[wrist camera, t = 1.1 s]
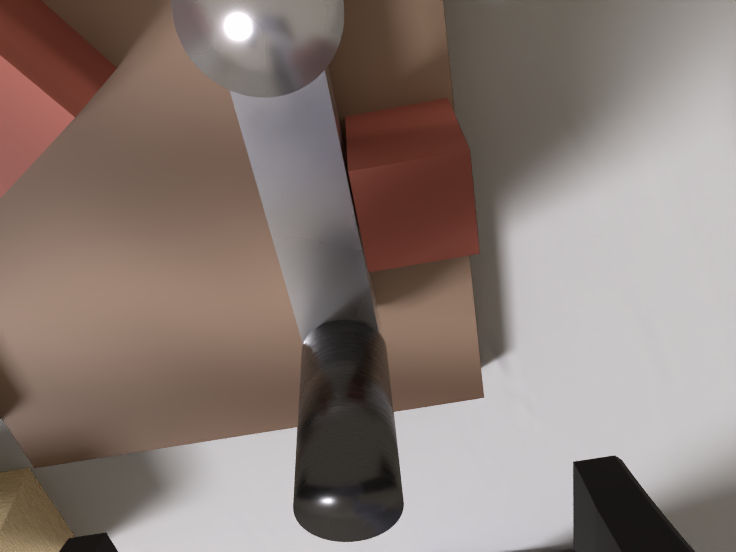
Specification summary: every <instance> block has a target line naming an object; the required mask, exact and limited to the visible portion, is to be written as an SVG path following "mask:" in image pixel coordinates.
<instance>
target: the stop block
mask: <svg viewBox="0 0 736 552" xmlns="http://www.w3.org/2000/svg"><path fill="white" fill-rule="evenodd" d="M74 537H75V536H74V535H73V533H72V532H71V530H70V529H69V527H68V526H67V524H66V523H65V521H64V520H63V518H62V517H61V515H60V514H59V512H58V511H57V509H56V508H55V506H54V504H53V503H52V501H51V500H50V498H49V497H48V495H47V494H46V492H45V491H44V489H43V488H42V486H41V485H40V483H39V482H38V480H37V479H36V477H35V476H34V474H33V473H32V471H31V470H30V468H24V469H18V470H11V471H5V472H0V552H59V551H60V549H61V548H62V547H63V545H64V544H65V542H66V541H67V540H68V538H74Z"/></svg>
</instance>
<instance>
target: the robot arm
mask: <svg viewBox="0 0 736 552" xmlns="http://www.w3.org/2000/svg"><path fill="white" fill-rule="evenodd" d="M573 497H574V548H575V551H576V552H695V551H694V550H693V549H692V548H691V547H690V545H689V544H688V543H687V542H686V541H685V540H684V538H683V537H682V536H681V535H680V534H679V532H678V531H677V530H676V529H675V528H674V526H673V525H672V524H671V523H670V522H669V520H668V519H667V518H666V517H665V516H664V514H663V513H662V512H661V511H660V509H659V508H658V507H657V506H656V504H655V503H654V502H653V501H652V500H651V498H650V497H649V496H648V494H647V493H646V492H645V491H644V489H643V488H642V487H641V485H640V484H639V483H638V481H637V480H636V479H635V477H634V476H633V475H632V473H631V472H630V471H629V469H628V468H627V467H626V465H625V464H624V462H623V461H622V460H621V459H619V458H618V457H616V456H609V457H602V458H596V459H589V460H583V461H576V462H573ZM59 552H118V551H117V549H116V548H115V546H114V544H113V543H112V541H111V540H110V538H109V536H108V535H107V533H101V534H94V535H87V536H81V537H74V538H68V540H67V541H66V542H65V544H64V545H63V547H62V548H61V549H60V551H59Z"/></svg>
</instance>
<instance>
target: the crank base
mask: <svg viewBox="0 0 736 552" xmlns="http://www.w3.org/2000/svg"><path fill="white" fill-rule="evenodd" d="M343 2H344V25H343V33H342V36H341V40H340V44H339V46H338V49H337V51H336V53H335V55H334V57H333V59H332V60H331V62H330V64H329V65H328V67H329V71H330V76H331V81H332V86H333V91H334V96H335V101H336V106H337V111H338V116H339V121H340V126H341V131H342V136H343V141H344V146H345V151H346V156H347V161H348V173H349V178H350V183H351V188H352V193H353V198H354V203H355V208H356V213H357V218H358V223H359V228H360V232H361V237H362V242H363V247H364V252H365V257H366V262H367V267H368V272H370V274H371V279H372V284H373V289H374V294H375V299H376V304H377V309H378V314H379V319H380V324H381V334H382V337H383V339H384V341H385V343H386V347H387V356H388V365H389V374H390V383H391V393H392V402H393V411H394V412H395V411H402V410H408V409H415V408H421V407H427V406H434V405H440V404H447V403H453V402H459V401H466V400H472V399H478V398H484V393H483V383H482V374H481V364H480V354H479V345H478V335H477V325H476V316H475V306H474V296H473V287H472V277H471V267H470V257H469V255H475V254H480V252H479V241H478V230H477V219H476V209H475V198H474V187H473V177H472V166H471V155H470V149H469V147H468V144H467V142H466V140H465V137H464V135H463V133H462V130H461V128H460V125H459V123H458V121H457V118H456V116H455V112H454V103H453V93H452V83H451V74H450V64H449V54H448V44H447V35H446V25H445V15H444V6H443V0H343ZM302 346H303V343H302V340H301V337H300V333H299V330H298V326H297V323H296V319H295V316H294V312H293V309H292V305H291V302H290V298H289V295H288V291H287V288H286V285H285V281H284V278H283V274H282V271H281V267H280V264H279V260H278V257H277V253H276V250H275V246H274V243H273V239H272V236H271V232H270V229H269V226H268V222H267V219H266V215H265V212H264V208H263V205H262V201H261V198H260V194H259V191H258V187H257V184H256V180H255V177H254V174H253V170H252V167H251V163H250V160H249V156H248V153H247V149H246V146H245V142H244V139H243V135H242V132H241V128H240V125H239V122H238V118H237V115H236V111H235V108H234V104H233V101H232V97H231V94H230V90H228V89H226V88H224V87H222V86H220V85H219V84H217V83H215V82H214V81H213V80H211V79H210V78H208V77H207V76H206V75H205V74H204V73H203V72H202V71H201V70H200V69H199V68H198V67H197V66H196V65H195V64H194V63H193V61H192V60H191V59H190V57H189V56H188V54H187V53H186V51H185V50H184V48H183V46H182V44H181V42H180V40H179V37H178V35H177V32H176V29H175V25H174V21H173V16H172V8H171V0H0V417H1V418H2V420H3V421H4V423H5V424H6V426H7V427H8V429H9V430H10V432H11V433H12V435H13V436H14V438H15V440H16V441H17V443H18V444H19V446H20V447H21V449H22V450H23V452H24V453H25V455H26V456H27V458H28V459H29V461H30V462H31V464H32V465H33V467H34V468H38V467H45V466H51V465H57V464H64V463H70V462H77V461H83V460H89V459H96V458H102V457H108V456H115V455H121V454H128V453H134V452H140V451H147V450H153V449H159V448H166V447H172V446H179V445H185V444H191V443H198V442H204V441H211V440H217V439H223V438H230V437H236V436H242V435H249V434H255V433H262V432H268V431H274V430H281V429H287V428H293V427H298V408H299V389H300V370H301V351H302Z"/></svg>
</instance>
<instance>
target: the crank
mask: <svg viewBox="0 0 736 552" xmlns="http://www.w3.org/2000/svg"><path fill="white" fill-rule="evenodd" d="M171 8H172V16H173V21H174V25H175V29H176V32H177V35H178V37H179V40H180V42H181V44H182V46H183V48H184V50H185V51H186V53H187V54H188V56H189V57H190V59H191V60H192V61H193V63H194V64H195V65H196V66H197V67H198V68H199V69H200V70H201V71H202V72H203V73H204V74H205V75H206V76H207V77H208V78H210V79H211V80H213V81H214V82H215V83H217V84H219V85H220V86H222V87H224V88H226V89H228V90H230V94H231V97H232V101H233V104H234V108H235V111H236V115H237V118H238V122H239V125H240V128H241V132H242V135H243V139H244V142H245V146H246V149H247V153H248V156H249V160H250V163H251V167H252V170H253V174H254V177H255V180H256V184H257V187H258V191H259V194H260V198H261V201H262V205H263V208H264V212H265V215H266V219H267V222H268V226H269V229H270V232H271V236H272V239H273V243H274V246H275V250H276V253H277V257H278V260H279V264H280V267H281V271H282V274H283V278H284V281H285V285H286V288H287V291H288V295H289V298H290V302H291V305H292V309H293V312H294V316H295V319H296V323H297V326H298V330H299V333H300V337H301V340H302V343H303V346H302V351H301V370H300V389H299V408H298V427H297V447H296V466H295V485H294V504H293V509H294V515H295V517H296V519H297V521H298V522H299V524H300V525H301V526H302V527H303V528H304V529H305V530H307V531H308V532H310V533H311V534H313V535H315V536H318V537H320V538H323V539H327V540H331V541H339V542H353V541H361V540H366V539H369V538H372V537H375V536H378V535H380V534H382V533H384V532H385V531H387V530H388V529H390V528H391V527H392V526H393V525H394V524H395V523H396V522H397V521H398V520H399V518H400V516H401V514H402V511H403V506H404V503H403V493H402V484H401V475H400V466H399V457H398V448H397V438H396V429H395V420H394V411H393V402H392V393H391V383H390V374H389V365H388V356H387V347H386V343H385V341H384V339H383V337H382V334H381V324H380V319H379V314H378V309H377V304H376V299H375V294H374V289H373V284H372V279H371V274H370V272H368V267H367V262H366V257H365V252H364V247H363V242H362V237H361V232H360V228H359V223H358V218H357V213H356V208H355V203H354V198H353V193H352V188H351V183H350V178H349V173H348V161H347V156H346V151H345V146H344V141H343V136H342V131H341V126H340V121H339V116H338V111H337V106H336V101H335V96H334V91H333V86H332V81H331V76H330V71H329V67H328V65H329V64H330V62H331V60H332V59H333V57H334V55H335V53H336V51H337V49H338V46H339V44H340V40H341V36H342V33H343V25H344V2H343V0H171Z"/></svg>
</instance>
